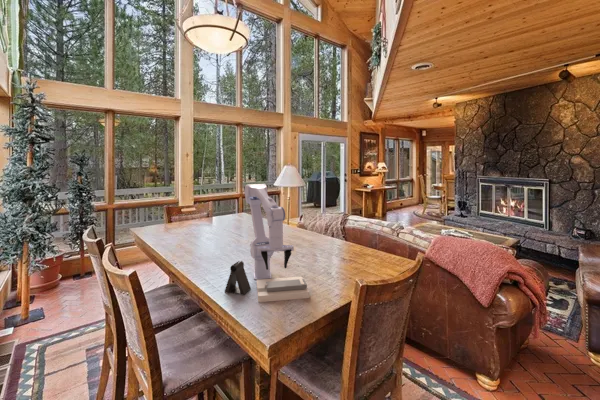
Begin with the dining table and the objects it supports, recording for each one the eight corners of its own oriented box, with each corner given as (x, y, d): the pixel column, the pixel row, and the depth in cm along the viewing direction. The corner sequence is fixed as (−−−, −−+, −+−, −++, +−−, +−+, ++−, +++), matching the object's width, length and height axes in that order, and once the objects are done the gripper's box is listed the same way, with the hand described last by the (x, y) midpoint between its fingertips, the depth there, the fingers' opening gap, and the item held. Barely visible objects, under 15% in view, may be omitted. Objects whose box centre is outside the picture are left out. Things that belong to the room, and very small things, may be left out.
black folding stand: (250, 289, 123) (250, 261, 121) (244, 295, 117) (243, 266, 116) (231, 286, 125) (231, 259, 124) (224, 292, 120) (223, 264, 118)
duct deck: (256, 285, 126) (256, 279, 126) (301, 281, 130) (301, 276, 130) (258, 302, 111) (258, 296, 111) (309, 297, 114) (309, 291, 114)
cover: (264, 285, 119) (264, 281, 119) (303, 282, 122) (303, 278, 122) (265, 292, 113) (265, 287, 113) (306, 288, 116) (306, 284, 116)
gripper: (258, 239, 114) (259, 272, 116) (294, 238, 117) (294, 270, 118) (257, 235, 121) (258, 266, 123) (292, 233, 124) (292, 264, 125)
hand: (276, 268), depth 121 cm, fingers open, 7 cm apart
